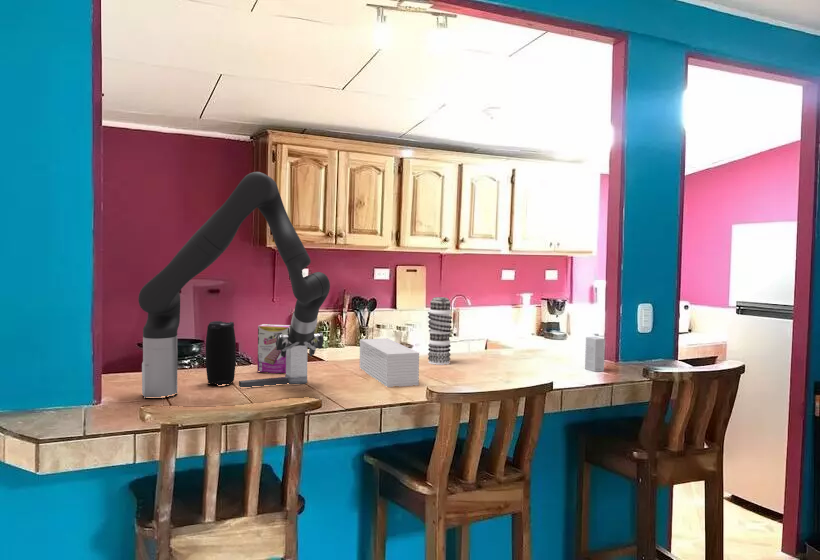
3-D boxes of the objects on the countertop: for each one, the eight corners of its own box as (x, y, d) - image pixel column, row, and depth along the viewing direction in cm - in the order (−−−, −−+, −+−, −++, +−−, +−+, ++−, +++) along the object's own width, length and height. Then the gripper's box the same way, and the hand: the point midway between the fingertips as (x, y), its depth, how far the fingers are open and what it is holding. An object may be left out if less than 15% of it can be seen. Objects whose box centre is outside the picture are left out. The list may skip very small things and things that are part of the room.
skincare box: (604, 371, 232) (605, 338, 232) (594, 372, 231) (595, 339, 230) (593, 368, 238) (594, 336, 237) (584, 368, 236) (585, 336, 236)
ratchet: (243, 390, 192) (243, 369, 192) (237, 386, 198) (237, 365, 198) (310, 384, 203) (310, 363, 202) (302, 379, 209) (303, 360, 208)
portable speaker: (240, 382, 203) (241, 321, 202) (223, 388, 194) (223, 324, 193) (217, 379, 206) (218, 319, 205) (199, 385, 197) (200, 323, 196)
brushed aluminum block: (290, 377, 200) (290, 342, 199) (285, 374, 205) (286, 340, 204) (307, 376, 202) (307, 342, 202) (302, 373, 207) (302, 339, 207)
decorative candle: (423, 361, 246) (425, 296, 245) (446, 360, 249) (447, 296, 248) (431, 365, 238) (432, 298, 236) (454, 364, 240) (456, 298, 239)
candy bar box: (256, 373, 218) (257, 325, 217) (261, 370, 223) (262, 323, 222) (288, 374, 217) (289, 326, 216) (292, 371, 222) (293, 324, 221)
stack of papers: (359, 368, 230) (359, 339, 229) (387, 367, 234) (387, 338, 233) (387, 388, 200) (387, 354, 199) (418, 385, 204) (419, 352, 203)
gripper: (325, 313, 196) (317, 344, 207) (278, 314, 191) (273, 346, 202) (328, 332, 191) (320, 363, 203) (281, 334, 186) (275, 365, 198)
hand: (297, 354), depth 203 cm, fingers open, 8 cm apart
